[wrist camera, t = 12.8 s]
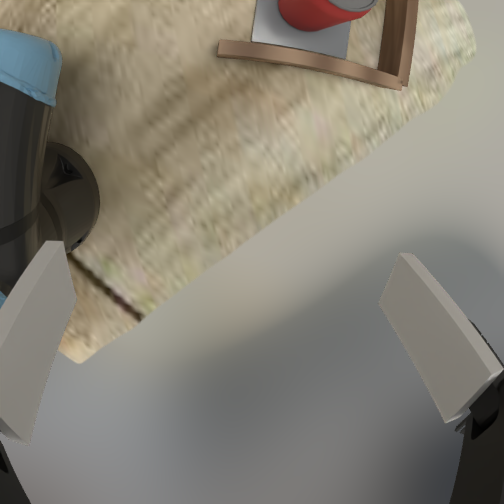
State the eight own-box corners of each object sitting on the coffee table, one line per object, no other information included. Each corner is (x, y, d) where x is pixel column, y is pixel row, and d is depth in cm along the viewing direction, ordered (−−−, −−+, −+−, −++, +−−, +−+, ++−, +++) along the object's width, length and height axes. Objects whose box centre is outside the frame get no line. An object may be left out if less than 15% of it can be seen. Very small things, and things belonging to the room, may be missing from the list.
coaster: (250, 41, 28) (251, 41, 28) (262, -39, 22) (263, -40, 22) (343, 59, 30) (345, 59, 30) (353, -17, 24) (355, -18, 24)
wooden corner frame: (216, 57, 29) (217, 53, 25) (234, -58, 21) (238, -75, 16) (384, 88, 32) (406, 92, 28) (397, -15, 24) (419, -21, 20)
